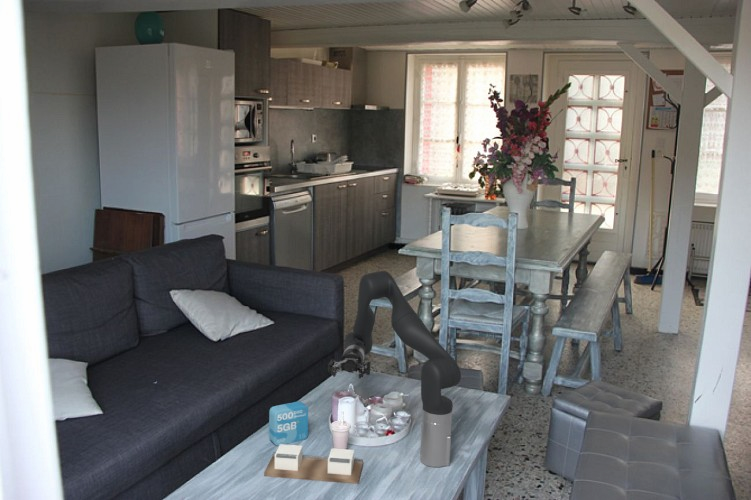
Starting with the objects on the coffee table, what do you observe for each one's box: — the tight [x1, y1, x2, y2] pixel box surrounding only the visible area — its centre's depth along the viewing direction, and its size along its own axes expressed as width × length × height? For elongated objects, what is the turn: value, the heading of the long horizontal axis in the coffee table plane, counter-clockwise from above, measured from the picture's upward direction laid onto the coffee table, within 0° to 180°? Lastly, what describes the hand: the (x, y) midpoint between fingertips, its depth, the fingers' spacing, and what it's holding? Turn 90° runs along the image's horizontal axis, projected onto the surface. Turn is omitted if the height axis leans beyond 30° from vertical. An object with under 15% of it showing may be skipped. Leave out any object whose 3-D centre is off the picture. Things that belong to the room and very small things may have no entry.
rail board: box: [263, 444, 364, 485], centre depth 209 cm, size 28×12×6 cm, turn 85°
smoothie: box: [330, 411, 352, 450], centre depth 220 cm, size 6×6×14 cm
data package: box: [268, 400, 309, 447], centre depth 227 cm, size 12×4×12 cm, turn 122°
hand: (346, 374), depth 229 cm, fingers open, 8 cm apart
